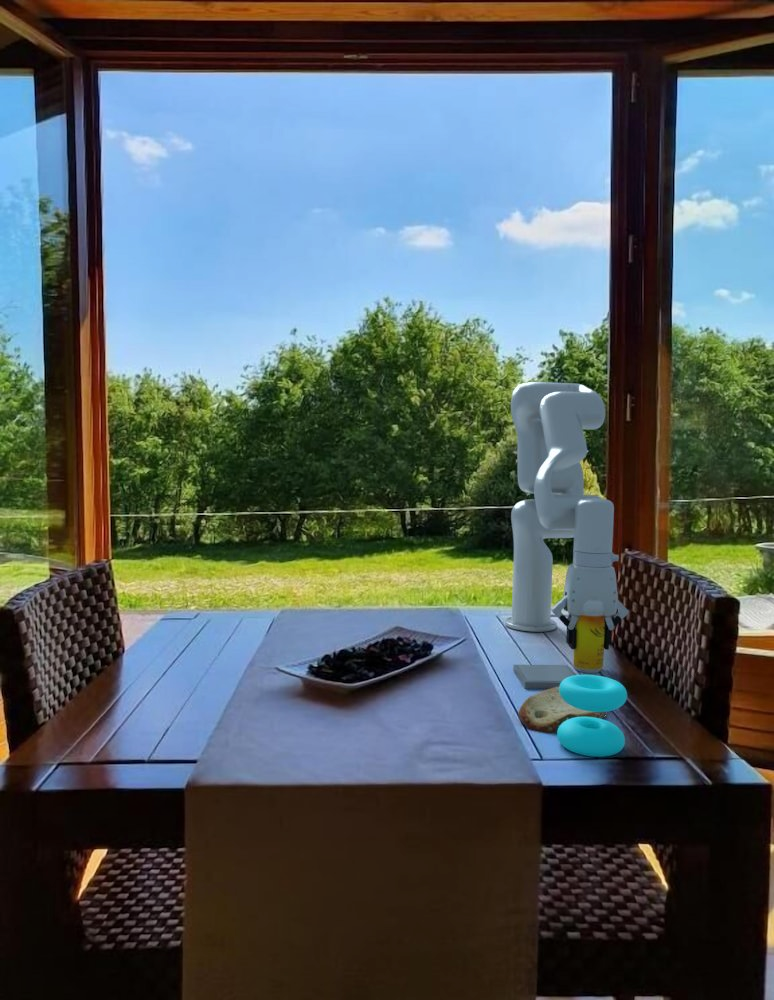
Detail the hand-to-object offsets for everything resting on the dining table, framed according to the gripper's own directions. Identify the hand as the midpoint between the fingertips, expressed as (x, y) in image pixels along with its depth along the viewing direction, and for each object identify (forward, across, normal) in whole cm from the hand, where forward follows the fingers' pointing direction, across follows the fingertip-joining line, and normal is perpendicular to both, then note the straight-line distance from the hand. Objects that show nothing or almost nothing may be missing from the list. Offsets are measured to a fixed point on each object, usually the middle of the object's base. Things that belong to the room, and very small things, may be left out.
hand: (588, 646), depth 156 cm
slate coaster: (+5, +10, +7) cm, 13 cm away
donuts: (+5, +11, +39) cm, 41 cm away
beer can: (+5, 0, 0) cm, 5 cm away
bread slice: (+5, +12, +24) cm, 28 cm away
